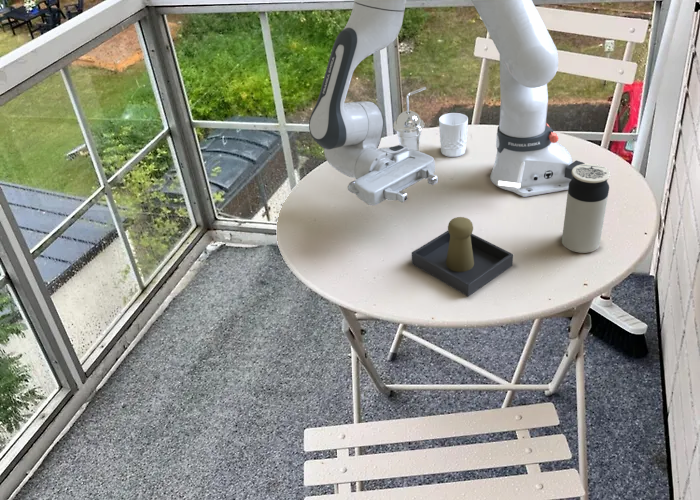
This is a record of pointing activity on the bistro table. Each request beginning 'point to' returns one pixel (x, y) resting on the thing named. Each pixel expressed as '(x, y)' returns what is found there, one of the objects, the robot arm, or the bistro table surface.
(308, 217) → the bistro table surface
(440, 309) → the bistro table surface
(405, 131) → the cup with straw
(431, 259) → the bin
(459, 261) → the olive pawn
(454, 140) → the white cup
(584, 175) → the travel mug
